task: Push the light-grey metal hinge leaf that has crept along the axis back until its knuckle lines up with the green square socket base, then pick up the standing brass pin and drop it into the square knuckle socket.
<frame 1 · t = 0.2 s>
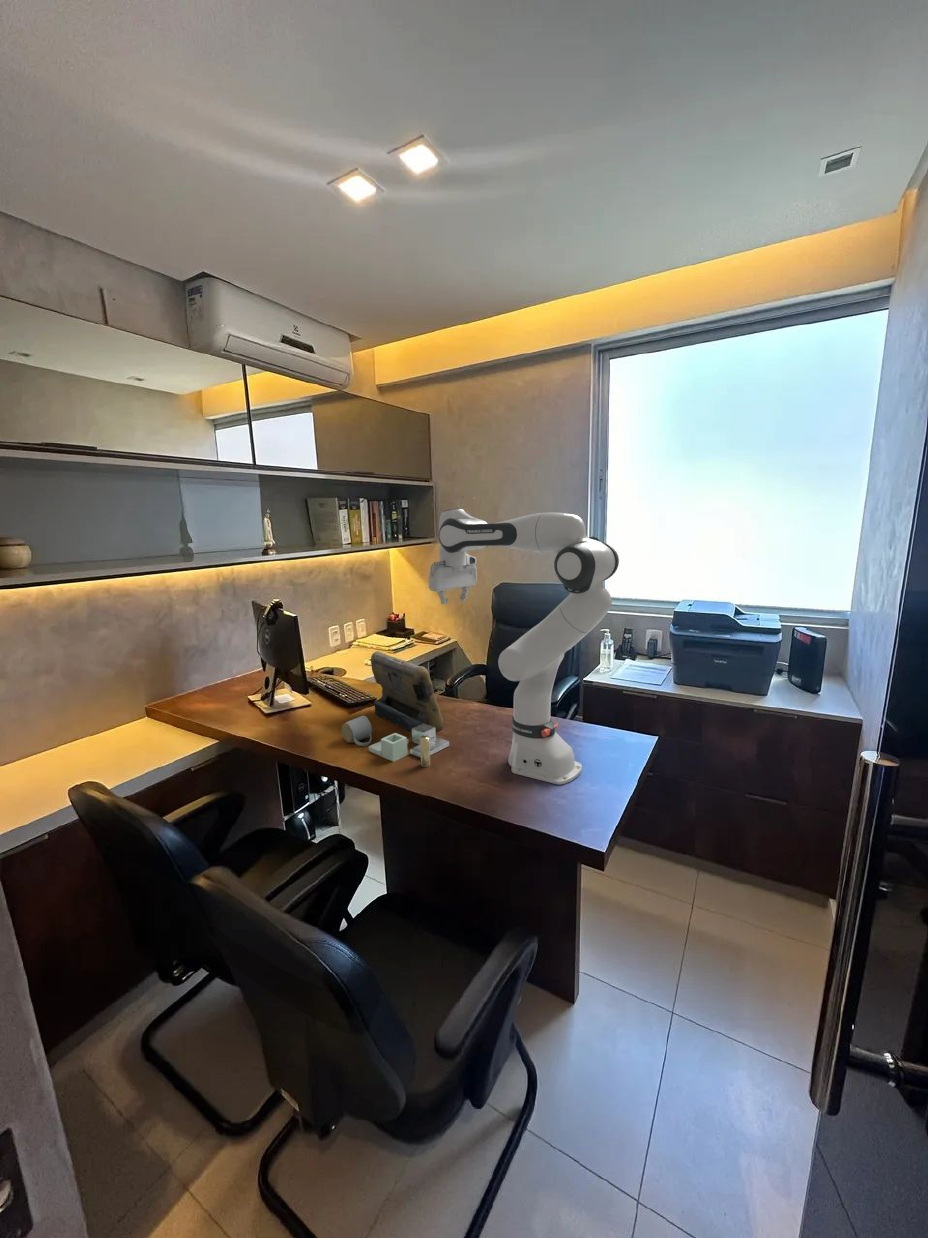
hand: (453, 601, 161), 47 cm above the table, fingers open, 8 cm apart
hinge pin: (425, 765, 150), on the table
tablet: (407, 721, 184), on the table
ceramic mug: (360, 741, 167), on the table
sliding leaf: (423, 740, 161), point 3 cm above the table, slide at 7.0 cm
green square socket base: (401, 752, 158), on the table
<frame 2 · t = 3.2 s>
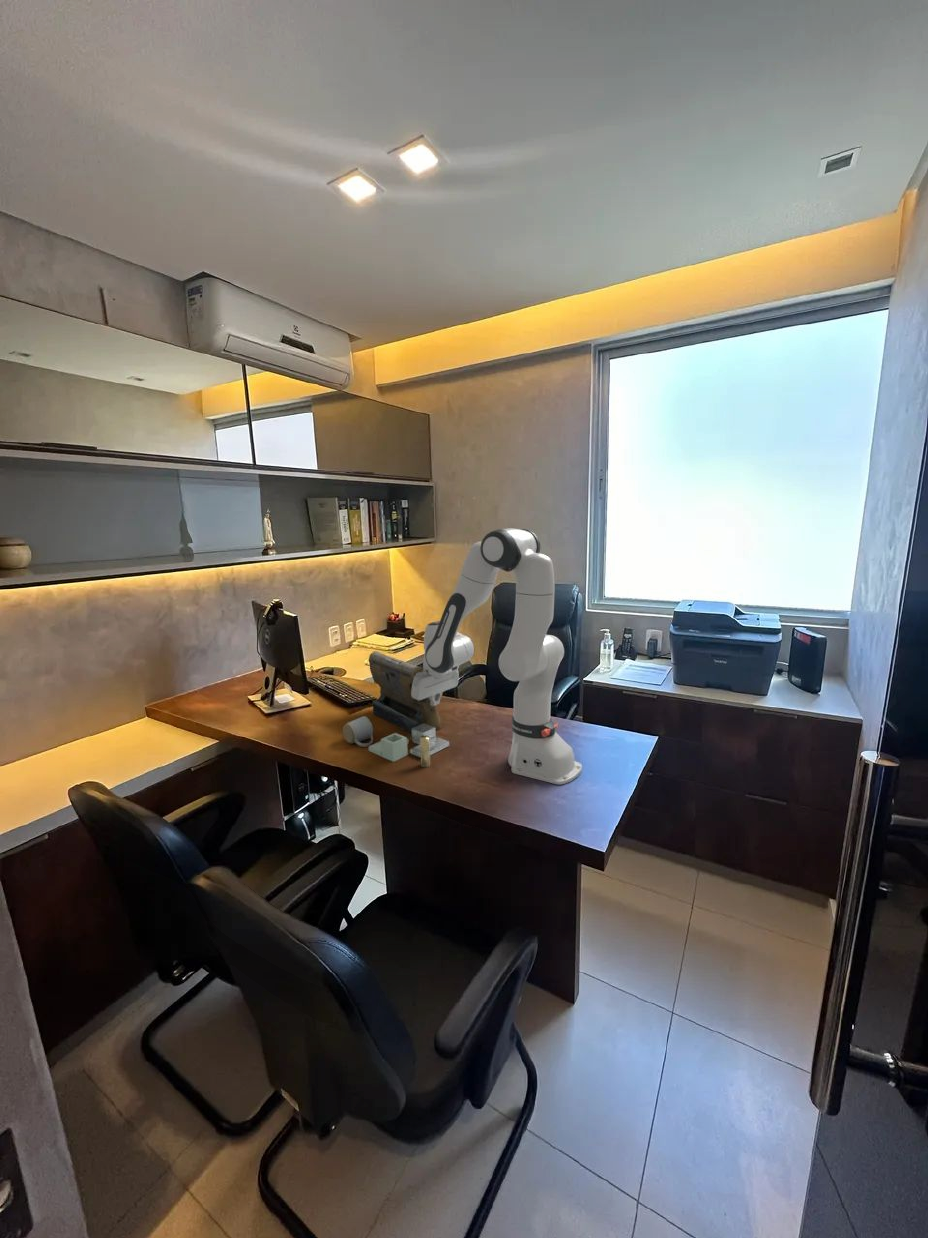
hand: (434, 704, 171), 11 cm above the table, fingers closed
tablet: (404, 721, 184), on the table, touching arm, gripper
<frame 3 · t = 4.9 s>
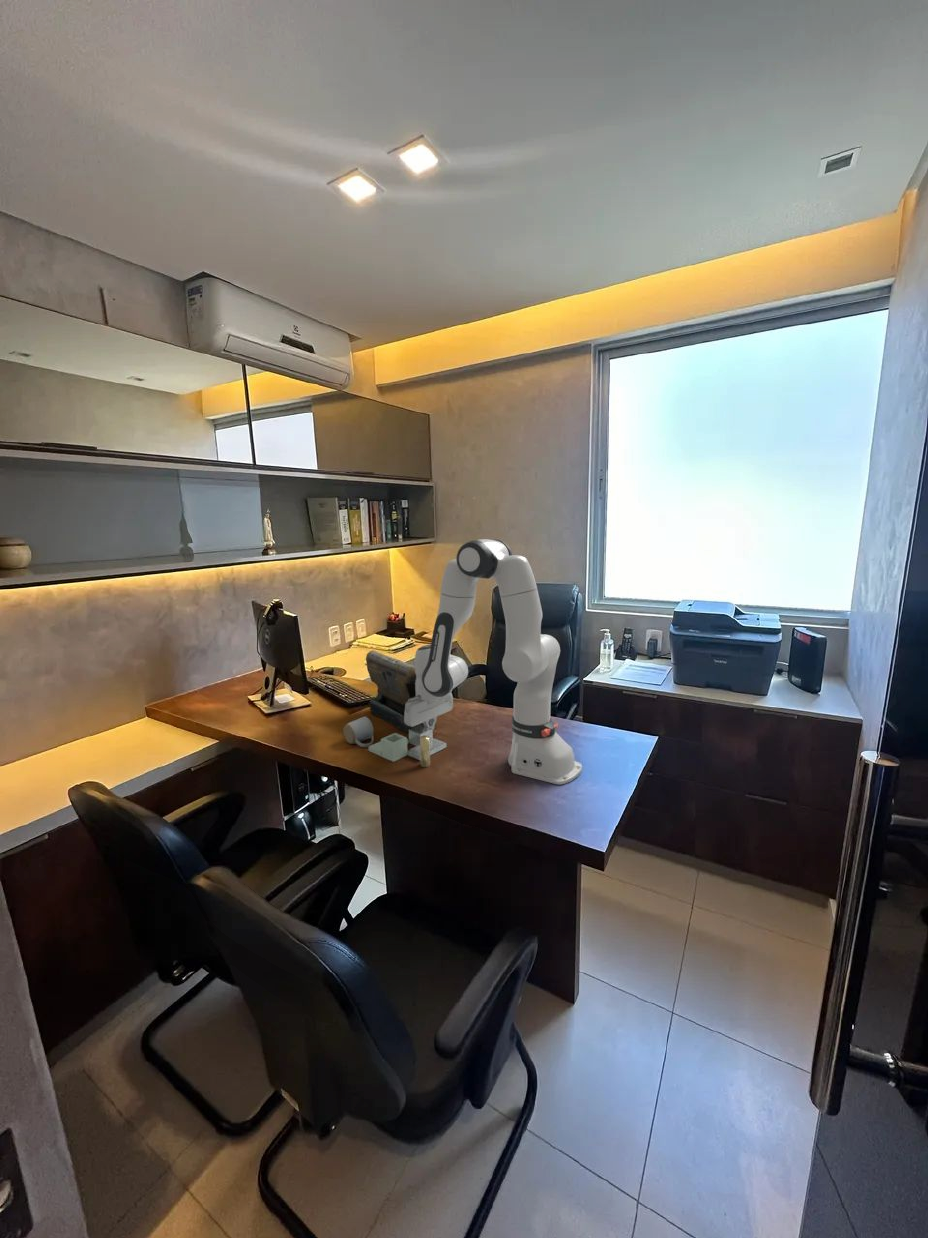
hand: (429, 730, 167), 3 cm above the table, fingers closed
tablet: (401, 720, 185), on the table
sliding leaf: (420, 741, 160), point 3 cm above the table, slide at 5.6 cm, touching gripper
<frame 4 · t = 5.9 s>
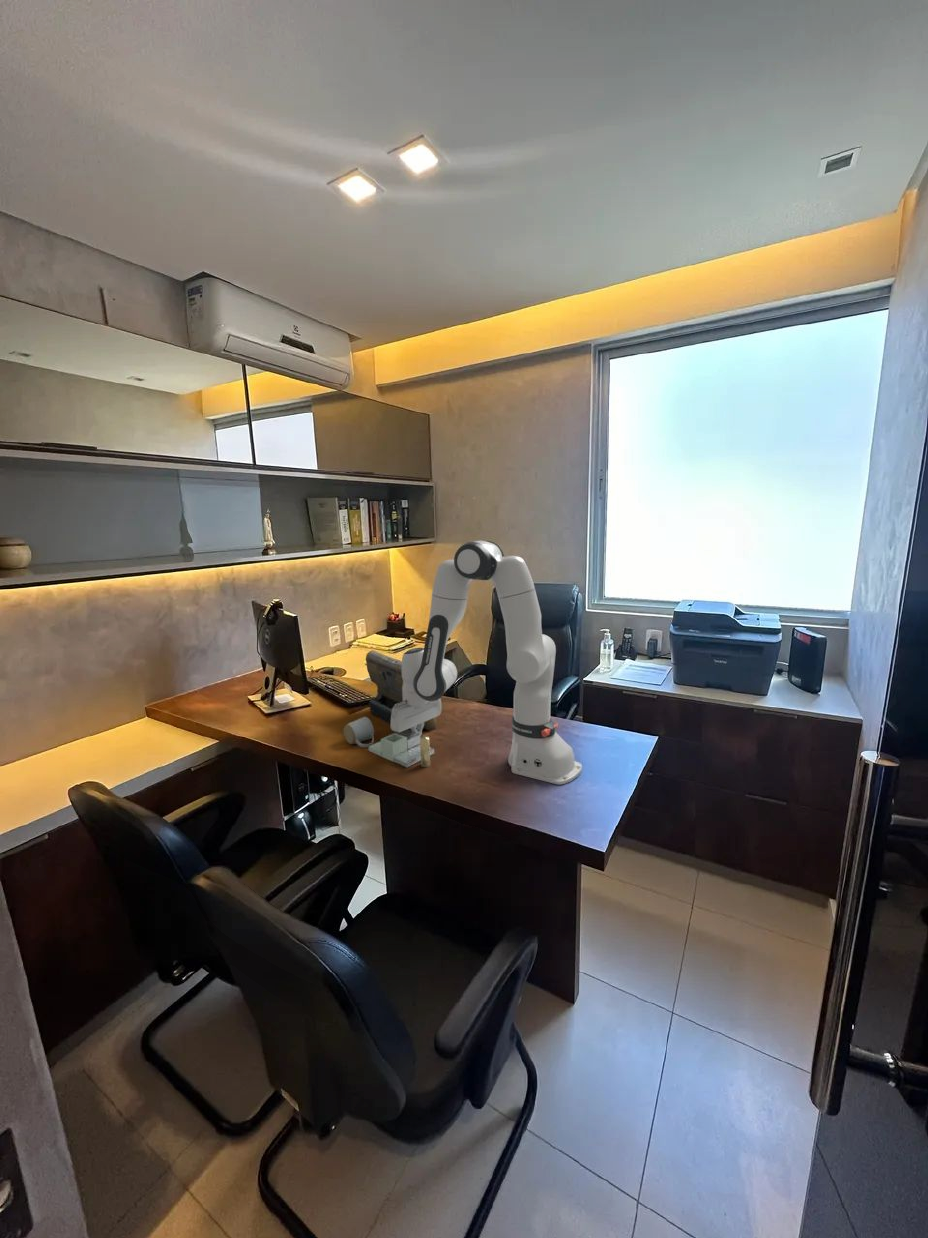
hand: (417, 735, 163), 3 cm above the table, fingers closed
sliding leaf: (407, 747, 156), point 3 cm above the table, slide at -0.1 cm, touching gripper
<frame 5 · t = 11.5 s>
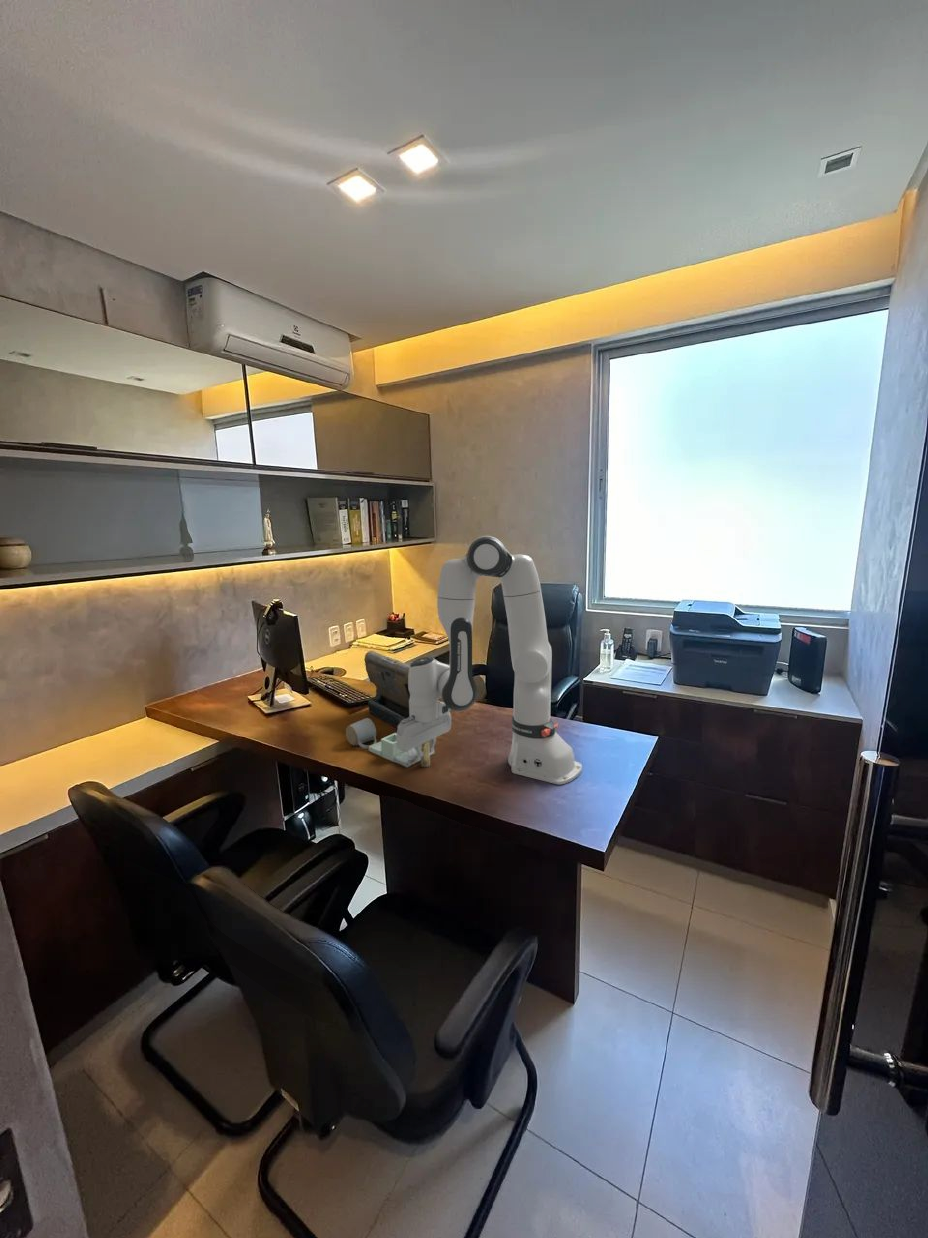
hand: (425, 754, 149), 4 cm above the table, fingers closed on hinge pin, 3 cm apart
hinge pin: (425, 765, 150), on the table, touching gripper
ceramic mug: (364, 744, 165), on the table
sliding leaf: (407, 747, 156), point 3 cm above the table, slide at 0.0 cm
everything else where it was.
when the fingers open (8 cm above the table, at t = 15.8 s): hinge pin drops 4 cm, resting in green square socket base.
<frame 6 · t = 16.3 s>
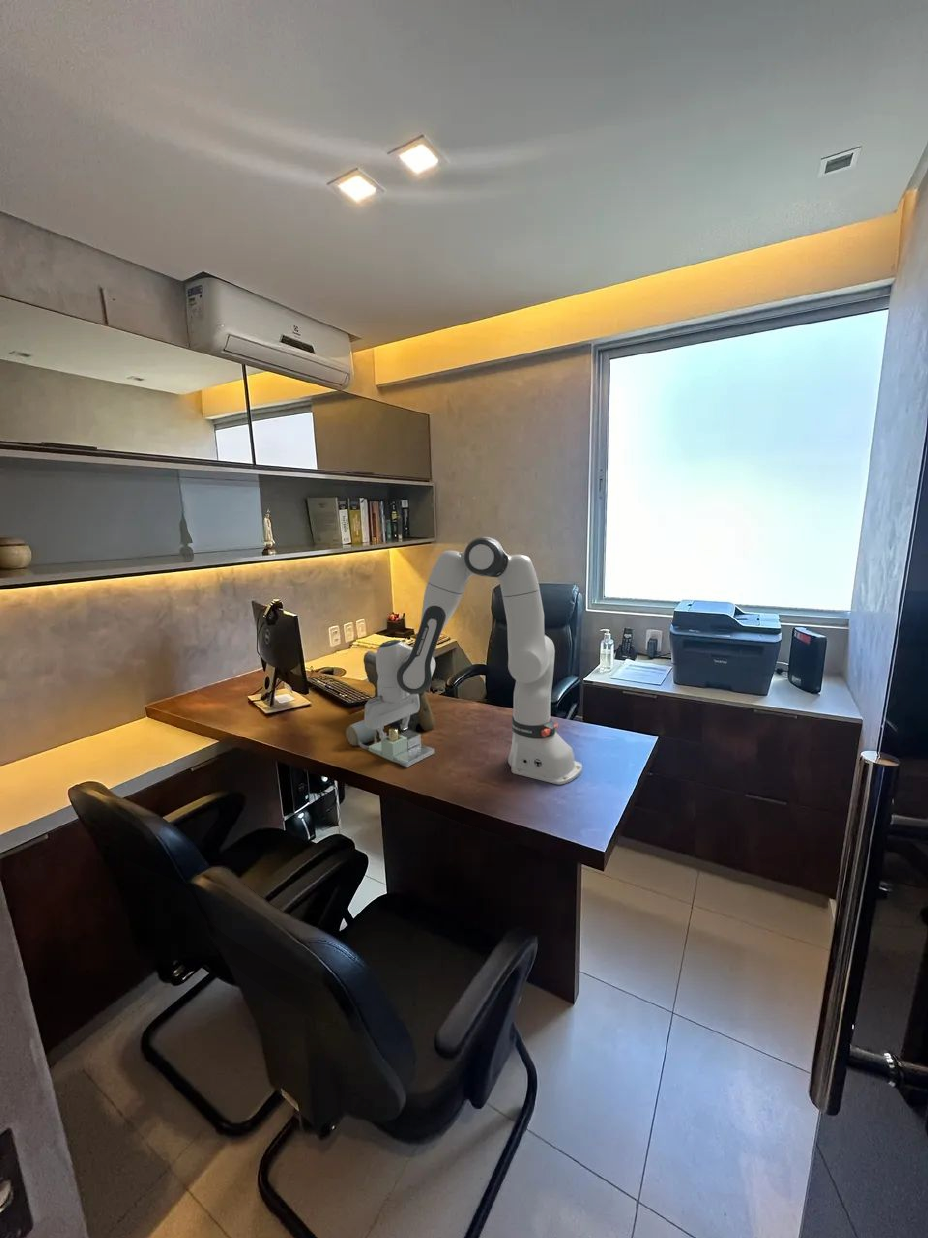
hand: (393, 733, 154), 8 cm above the table, fingers open, 7 cm apart
hinge pin: (394, 755, 156), resting in green square socket base
everything else where it was.
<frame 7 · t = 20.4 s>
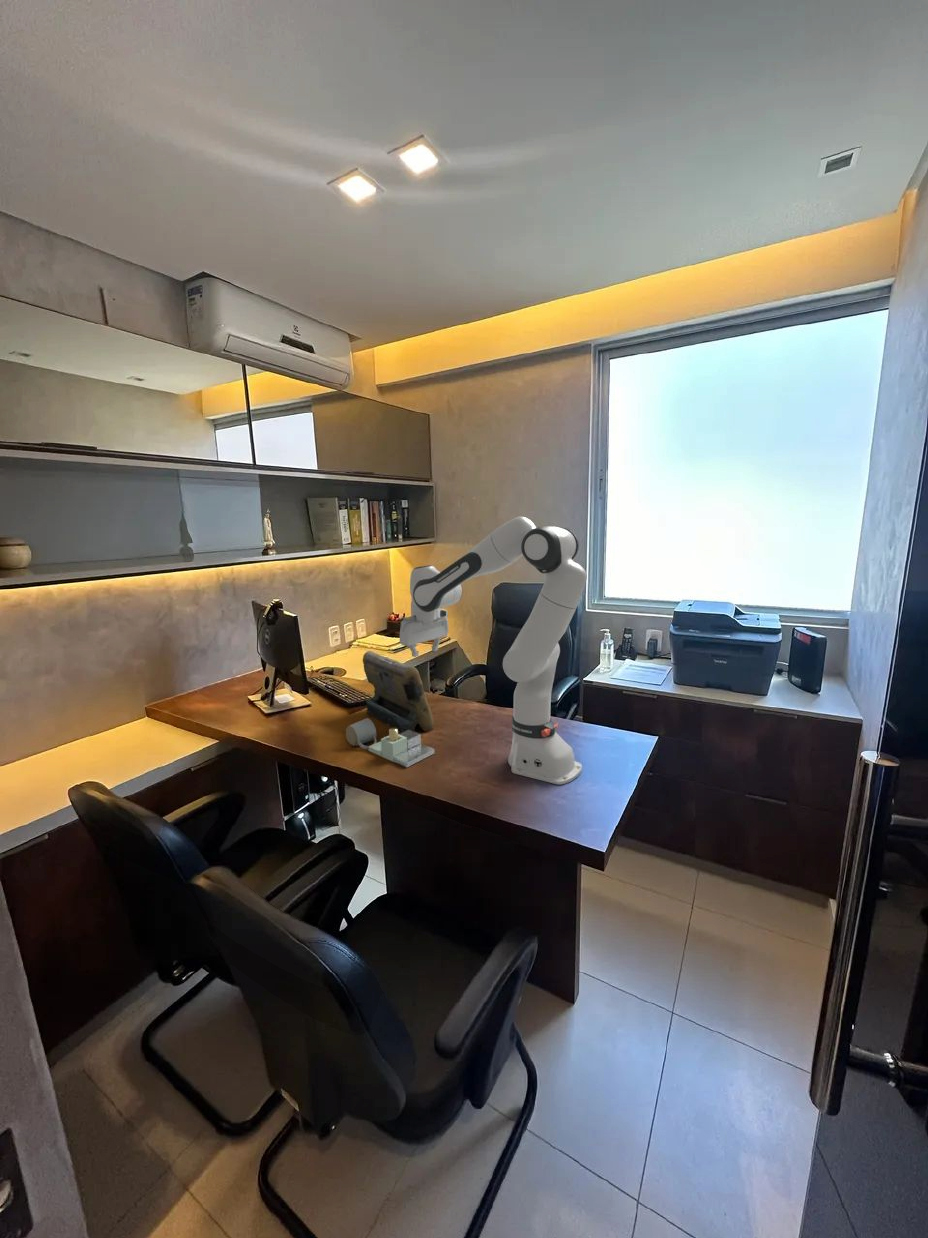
hand: (425, 653, 167), 29 cm above the table, fingers open, 8 cm apart
at the end: sliding leaf slide at 0.0 cm; hinge pin 0.0 cm from the target spot on the green square socket base, point 0.0 cm above the green square socket base's base; hinge pin tilted 0° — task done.
